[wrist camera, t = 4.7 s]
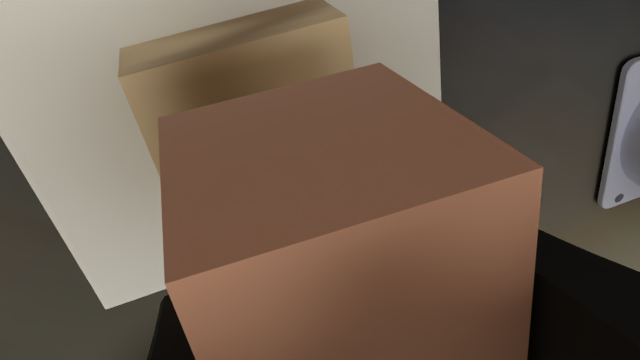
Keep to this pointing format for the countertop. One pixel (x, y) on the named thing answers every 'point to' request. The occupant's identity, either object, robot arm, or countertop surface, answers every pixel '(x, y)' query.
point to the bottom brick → (232, 61)
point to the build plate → (118, 119)
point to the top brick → (347, 226)
